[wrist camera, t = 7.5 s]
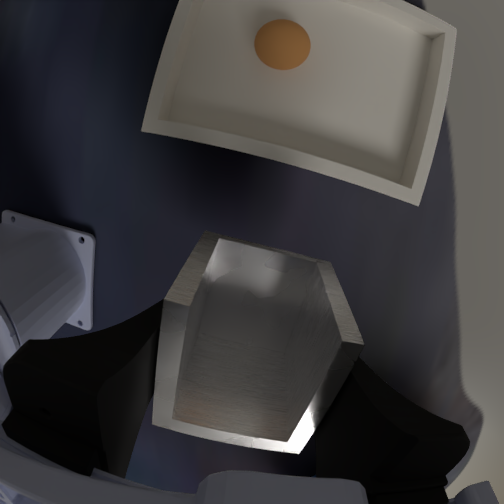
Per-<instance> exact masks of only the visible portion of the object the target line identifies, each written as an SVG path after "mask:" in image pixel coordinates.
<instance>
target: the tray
mask: <svg viewBox="0 0 504 504" xmlns="http://www.w3.org/2000/svg"><path fill="white" fill-rule="evenodd" d="M277 19H286V20H291V21H293V22H296V23H297V24H299V25H300V26H302V27H303V28H304V29H305V31H306V32H307V34H308V36H309V38H310V42H311V48H310V53H309V55H308V57H307V59H306V60H305V61H304V62H303V63H302V64H301V65H299V66H298V67H295V68H293V69H289V70H277V69H274V68H271V67H269V66H267V65H266V64H264V63H263V62H262V61H261V60H260V59H259V57H258V56H257V54H256V51H255V47H254V40H255V36H256V34H257V32H258V31H259V29H260V28H261V27H262V26H263V25H265V24H266V23H268V22H270V21H273V20H277ZM456 34H457V28H455V27H453V26H452V25H450V24H448V23H446V22H445V21H443V20H441V19H439V18H437V17H435V16H434V15H432V14H430V13H428V12H426V11H424V10H422V9H420V8H418V7H416V6H414V5H412V4H410V3H407V2H405V1H403V0H179V2H178V5H177V8H176V11H175V13H174V16H173V19H172V22H171V25H170V28H169V31H168V34H167V37H166V40H165V43H164V46H163V50H162V53H161V56H160V60H159V63H158V66H157V70H156V73H155V77H154V81H153V84H152V88H151V92H150V96H149V100H148V104H147V108H146V112H145V116H144V120H143V125H142V129H141V131H143V132H149V133H154V134H160V135H165V136H171V137H176V138H181V139H186V140H191V141H195V142H200V143H205V144H209V145H214V146H218V147H223V148H227V149H232V150H236V151H240V152H244V153H248V154H252V155H256V156H260V157H264V158H268V159H272V160H275V161H279V162H283V163H286V164H290V165H294V166H297V167H301V168H304V169H308V170H311V171H315V172H318V173H321V174H325V175H328V176H331V177H334V178H338V179H341V180H344V181H347V182H350V183H353V184H356V185H359V186H362V187H365V188H368V189H371V190H374V191H377V192H380V193H383V194H386V195H389V196H391V197H394V198H397V199H400V200H402V201H405V202H408V203H411V204H413V205H416V206H419V204H420V201H421V197H422V194H423V191H424V188H425V184H426V181H427V177H428V174H429V171H430V167H431V163H432V160H433V156H434V152H435V148H436V144H437V140H438V136H439V132H440V128H441V123H442V119H443V114H444V109H445V105H446V100H447V94H448V89H449V83H450V77H451V71H452V65H453V58H454V51H455V43H456Z"/></svg>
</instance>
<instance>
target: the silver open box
mask: <svg viewBox="0 0 504 504" xmlns="http://www.w3.org/2000/svg"><path fill="white" fill-rule="evenodd" d="M363 347H364V342H363V340H362V337H361V334H360V332H359V329H358V327H357V324H356V322H355V319H354V317H353V315H352V312H351V310H350V307H349V305H348V302H347V300H346V298H345V295H344V293H343V290H342V288H341V286H340V283H339V281H338V279H337V276H336V274H335V272H334V270H333V267H332V265H331V263H330V262H328V261H324V260H320V259H316V258H312V257H308V256H304V255H301V254H297V253H293V252H289V251H285V250H281V249H277V248H273V247H269V246H265V245H261V244H257V243H253V242H249V241H245V240H241V239H237V238H233V237H229V236H225V235H221V234H217V233H213V232H209V231H204V233H203V235H202V236H201V238H200V240H199V241H198V243H197V245H196V246H195V248H194V249H193V251H192V253H191V254H190V256H189V258H188V259H187V261H186V263H185V264H184V266H183V268H182V269H181V271H180V273H179V274H178V276H177V278H176V280H175V281H174V283H173V285H172V286H171V288H170V290H169V292H168V293H167V295H166V297H165V298H164V302H163V310H162V318H161V327H160V336H159V345H158V355H157V366H156V377H155V389H154V403H153V419H152V424H153V425H156V426H160V427H163V428H167V429H170V430H174V431H178V432H181V433H185V434H189V435H193V436H198V437H202V438H206V439H211V440H215V441H220V442H225V443H230V444H235V445H241V446H246V447H252V448H259V449H265V450H272V451H280V452H288V453H297V454H299V453H300V452H301V450H302V449H303V448H304V446H305V445H306V443H307V442H308V440H309V439H310V437H311V436H312V434H313V433H314V431H315V429H316V428H317V426H318V425H319V423H320V422H321V420H322V419H323V417H324V415H325V414H326V412H327V410H328V409H329V407H330V406H331V404H332V402H333V401H334V399H335V397H336V396H337V394H338V392H339V390H340V389H341V387H342V385H343V384H344V382H345V380H346V378H347V377H348V375H349V373H350V371H351V369H352V368H353V366H354V364H355V362H356V360H357V358H358V356H359V355H360V353H361V351H362V349H363Z"/></svg>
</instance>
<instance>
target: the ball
mask: <svg viewBox="0 0 504 504" xmlns="http://www.w3.org/2000/svg"><path fill="white" fill-rule="evenodd" d="M254 47H255V51H256V54H257V56H258V57H259V59H260V60H261V61H262V62H263V63H264V64H266V65H267V66H269V67H271V68H274V69H277V70H289V69H293V68H295V67H298V66H299V65H301V64H302V63H303V62H304V61H305V60H306V59H307V57H308V55H309V53H310V48H311V42H310V38H309V36H308V34H307V32H306V31H305V29H304V28H303V27H302V26H300V25H299V24H297V23H296V22H293V21H291V20H286V19H277V20H273V21H270V22H268V23H266V24H265V25H263V26H262V27H261V28H260V29H259V31H258V32H257V34H256V36H255V40H254Z"/></svg>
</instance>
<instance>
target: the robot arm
mask: <svg viewBox="0 0 504 504" xmlns="http://www.w3.org/2000/svg"><path fill="white" fill-rule="evenodd" d="M14 217H15V220H14ZM81 237H83V238H84V242H83V241H82V240H81ZM95 243H96V242H95V238H94V236H93V235H92V234H89V233H86V232H82V231H79V230H75V229H72V228H68V227H65V226H61V225H58V224H54V223H51V222H47V221H44V220H40V219H37V218H34V217H30V216H27V215H24V214H20V213H17V212H13V211H10V210H5V211H3V212H2V223H0V504H499V502H498V500H497V498H496V496H495V493H494V491H493V489H492V487H491V485H490V483H489V481H484V482H480V483H477V484H473V485H470V486H468V487H466V488H464V489H463V490H462V491H460V492H459V493H458V494H457V495H456V496H455V498H452V499H448V497H447V495H446V492H445V489H444V486H446V485H447V483H448V481H447V478H446V475H447V474H448V473H449V472H450V471H451V470H452V469H453V468H454V467H455V466H456V465H457V464H458V463H459V461H460V460H461V459H462V458H463V457H464V456H465V454H466V452H467V451H468V449H469V446H470V441H469V438H468V436H467V434H466V433H465V431H464V429H463V427H462V426H461V425H459V424H456V423H454V422H451V421H448V420H446V419H443V418H441V417H438V416H436V415H434V414H432V413H430V412H428V411H426V410H424V409H423V408H421V407H419V406H417V405H416V404H414V403H413V402H411V401H409V400H408V399H406V398H405V397H403V396H402V395H400V394H399V393H398V392H397V391H395V390H394V389H393V388H391V387H390V386H389V385H388V384H386V383H385V382H384V381H383V380H382V379H381V378H380V377H379V376H378V375H376V374H375V373H374V372H373V371H372V370H371V369H370V368H369V367H368V366H367V365H366V364H365V363H364V362H363V361H362V360H361V358H360V357H359V356H358V358H357V360H356V362H355V364H354V366H353V368H352V369H351V371H350V373H349V375H348V377H347V378H346V380H345V382H344V384H343V385H342V387H341V389H340V390H339V392H338V394H337V396H336V397H335V399H334V401H333V402H332V404H331V406H330V407H329V409H328V410H327V412H326V414H325V415H324V417H323V419H322V420H321V422H320V423H319V425H318V426H317V428H316V429H315V431H314V433H315V442H316V477H301V476H289V475H279V474H270V473H262V472H255V471H240V470H228V471H223V472H218V473H214V474H211V475H208V476H207V477H206V478H205V479H204V480H203V481H202V482H201V483H200V484H199V487H198V490H197V493H196V494H188V493H178V492H169V491H162V490H159V489H155V488H152V487H148V486H145V485H142V484H138V483H135V482H132V481H129V480H126V479H125V476H126V472H127V468H128V465H129V461H130V458H131V455H132V451H133V448H134V445H135V442H136V438H137V435H138V432H139V429H140V426H141V423H142V420H143V417H144V415H145V412H146V409H147V407H148V404H149V402H150V400H151V398H152V396H153V394H154V389H155V377H156V366H157V355H158V345H159V336H160V327H161V318H162V310H163V302H164V299H163V300H161V301H159V302H158V303H156V304H155V305H153V306H151V307H150V308H148V309H147V310H145V311H143V312H141V313H140V314H138V315H136V316H134V317H132V318H130V319H128V320H126V321H124V322H122V323H120V324H117V325H115V326H112V327H109V328H106V329H103V330H100V331H96V332H92V333H88V334H84V335H80V336H74V337H68V338H59V339H49V338H50V337H51V336H52V335H53V334H54V333H55V332H56V331H57V330H58V329H59V328H60V327H61V326H62V325H63V324H64V323H65V322H66V323H69V324H71V325H74V326H77V327H79V328H82V329H85V330H90V329H91V328H92V325H93V275H94V257H95ZM80 321H82V323H83V324H82V323H81V322H80Z"/></svg>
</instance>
